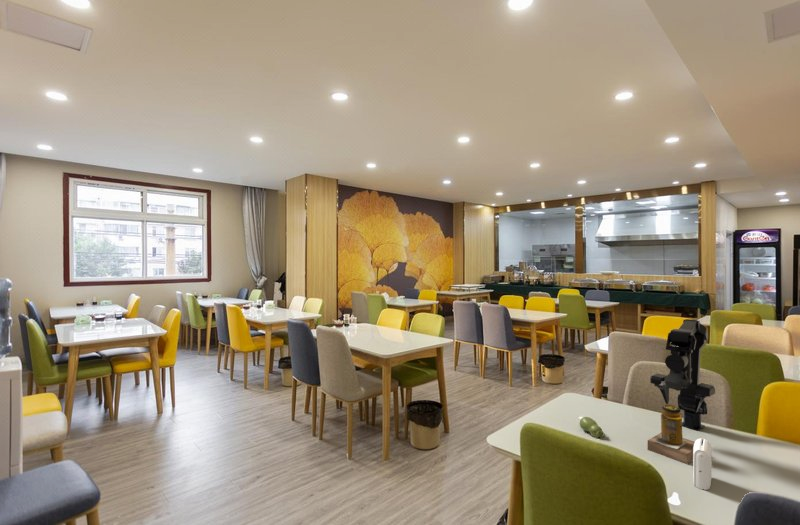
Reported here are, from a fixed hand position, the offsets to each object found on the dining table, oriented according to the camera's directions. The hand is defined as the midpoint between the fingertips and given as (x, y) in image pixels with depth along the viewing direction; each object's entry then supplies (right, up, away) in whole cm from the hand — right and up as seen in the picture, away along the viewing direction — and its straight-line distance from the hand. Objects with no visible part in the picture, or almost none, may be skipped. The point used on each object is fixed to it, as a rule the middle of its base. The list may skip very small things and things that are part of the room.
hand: (681, 407), depth 145 cm
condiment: (-9, -10, -7) cm, 15 cm away
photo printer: (-11, -13, -25) cm, 31 cm away
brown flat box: (-7, -14, -7) cm, 17 cm away
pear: (-29, -13, +8) cm, 33 cm away
